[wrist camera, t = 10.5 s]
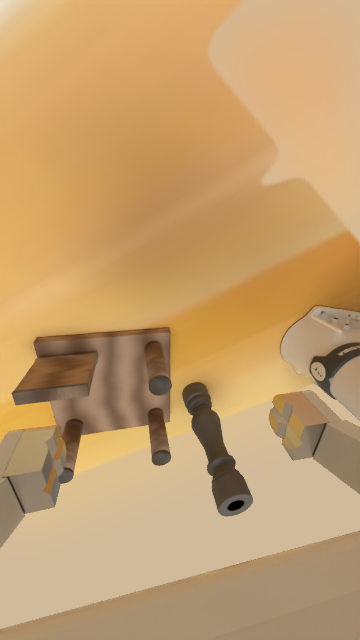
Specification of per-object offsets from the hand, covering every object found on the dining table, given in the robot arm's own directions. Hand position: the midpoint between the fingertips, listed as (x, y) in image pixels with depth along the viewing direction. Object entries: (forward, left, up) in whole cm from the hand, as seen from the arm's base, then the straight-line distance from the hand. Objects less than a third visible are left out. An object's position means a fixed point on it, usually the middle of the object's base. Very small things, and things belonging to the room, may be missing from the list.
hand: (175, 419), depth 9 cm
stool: (+7, +28, -37) cm, 47 cm away
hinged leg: (+14, +19, -33) cm, 41 cm away
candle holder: (-12, +34, -37) cm, 52 cm away
